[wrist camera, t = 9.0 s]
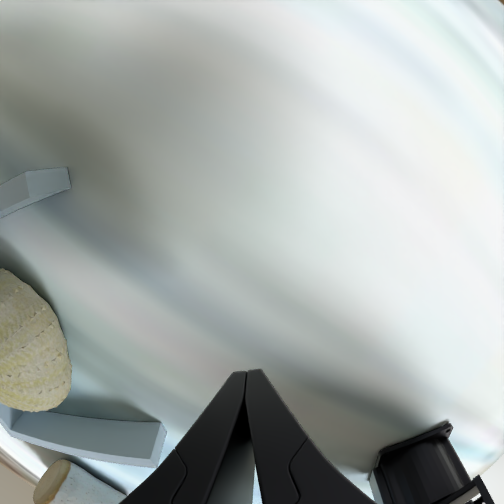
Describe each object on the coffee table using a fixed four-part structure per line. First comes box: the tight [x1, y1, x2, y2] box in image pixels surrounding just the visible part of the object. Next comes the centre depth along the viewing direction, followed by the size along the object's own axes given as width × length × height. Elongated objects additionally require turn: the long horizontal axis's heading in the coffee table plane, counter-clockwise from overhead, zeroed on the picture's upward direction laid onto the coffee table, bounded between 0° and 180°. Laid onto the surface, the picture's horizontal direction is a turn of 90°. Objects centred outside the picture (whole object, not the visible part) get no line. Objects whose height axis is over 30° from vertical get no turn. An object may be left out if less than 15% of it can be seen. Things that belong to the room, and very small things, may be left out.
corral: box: [0, 167, 167, 468], centre depth 12 cm, size 14×16×3 cm
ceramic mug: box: [33, 459, 127, 504], centre depth 15 cm, size 11×8×8 cm
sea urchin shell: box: [0, 269, 72, 412], centre depth 12 cm, size 9×8×8 cm
